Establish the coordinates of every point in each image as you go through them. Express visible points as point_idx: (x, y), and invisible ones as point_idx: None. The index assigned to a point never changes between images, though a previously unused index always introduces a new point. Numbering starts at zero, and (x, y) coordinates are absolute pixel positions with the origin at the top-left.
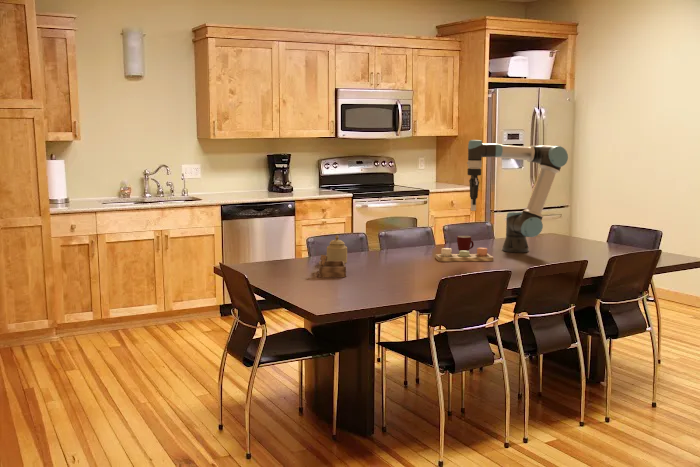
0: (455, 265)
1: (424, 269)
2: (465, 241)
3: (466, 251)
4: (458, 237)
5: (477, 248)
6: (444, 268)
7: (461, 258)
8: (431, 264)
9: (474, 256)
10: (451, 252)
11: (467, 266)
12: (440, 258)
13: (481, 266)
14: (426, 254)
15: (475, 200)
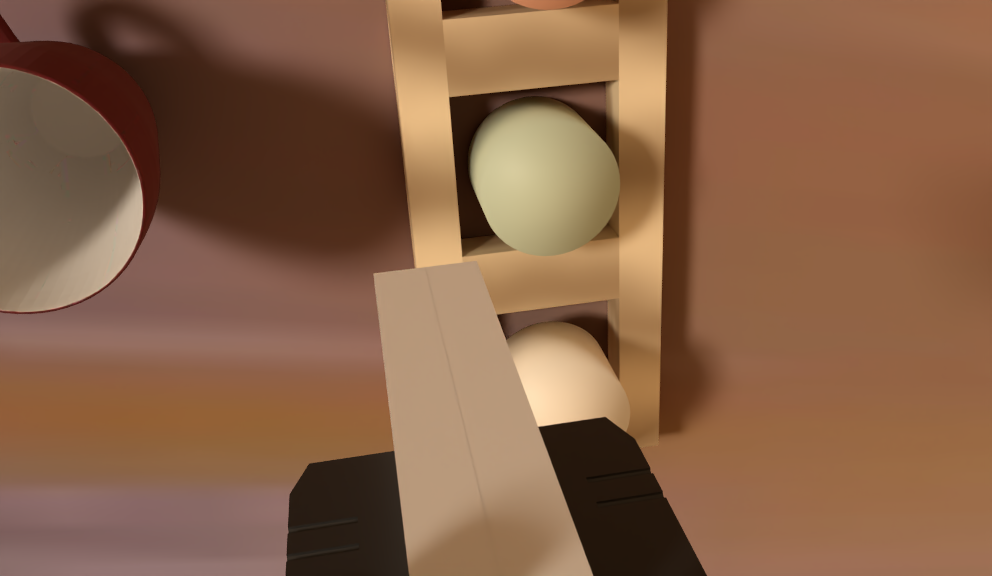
0: (870, 282)
1: (986, 535)
2: (157, 162)
3: (568, 163)
4: (92, 294)
5: (547, 4)
6: (986, 387)
7: (660, 212)
8: (785, 488)
9: (593, 40)
10: (576, 344)
11: (944, 167)
12: (657, 430)
13: (979, 8)
14: (218, 536)
15: (698, 569)
